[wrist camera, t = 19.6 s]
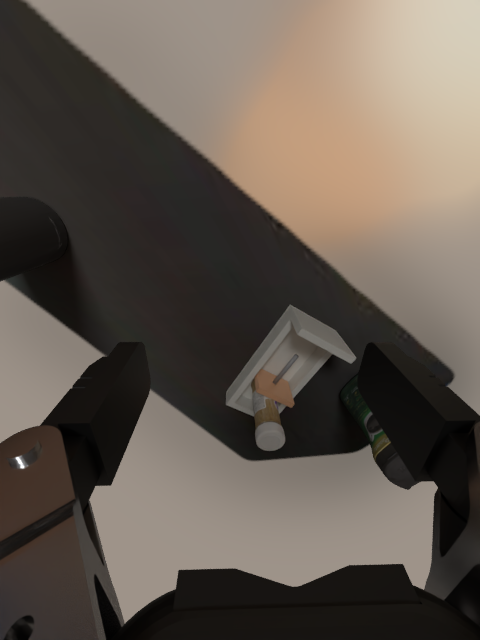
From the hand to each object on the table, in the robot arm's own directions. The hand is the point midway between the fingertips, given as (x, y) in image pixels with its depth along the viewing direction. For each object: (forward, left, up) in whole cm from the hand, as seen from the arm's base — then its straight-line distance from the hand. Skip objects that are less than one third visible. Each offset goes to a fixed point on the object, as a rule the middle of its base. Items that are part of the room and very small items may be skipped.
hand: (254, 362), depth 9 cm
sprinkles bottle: (+5, -29, -33) cm, 44 cm away
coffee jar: (+26, -30, -33) cm, 52 cm away
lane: (+8, -24, -33) cm, 42 cm away
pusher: (+8, -23, -32) cm, 41 cm away
